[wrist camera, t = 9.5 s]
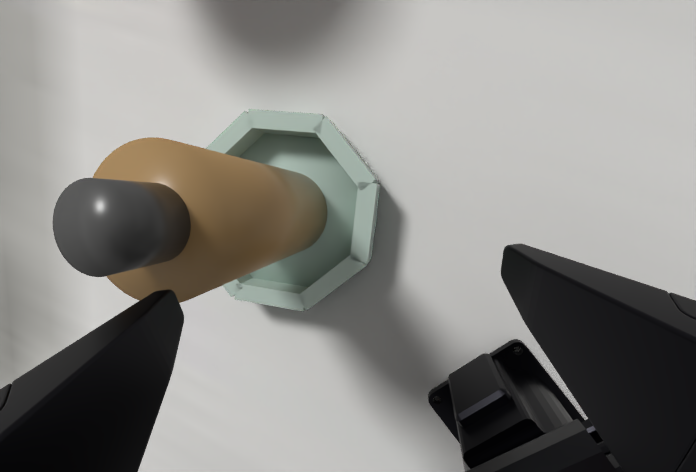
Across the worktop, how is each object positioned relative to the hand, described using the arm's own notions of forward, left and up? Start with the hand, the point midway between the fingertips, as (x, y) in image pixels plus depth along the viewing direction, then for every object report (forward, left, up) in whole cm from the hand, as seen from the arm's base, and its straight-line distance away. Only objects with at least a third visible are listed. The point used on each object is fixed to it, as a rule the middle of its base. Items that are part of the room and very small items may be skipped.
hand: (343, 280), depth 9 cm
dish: (+5, +4, -12) cm, 13 cm away
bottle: (+5, +4, -11) cm, 13 cm away
